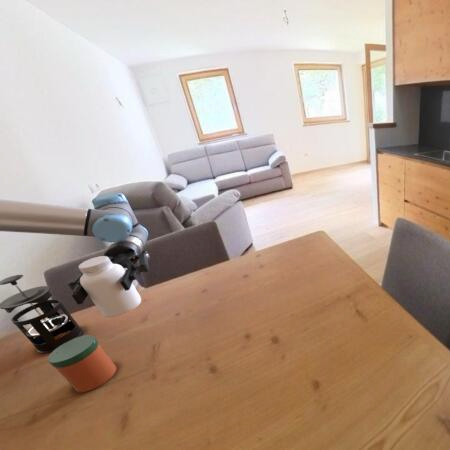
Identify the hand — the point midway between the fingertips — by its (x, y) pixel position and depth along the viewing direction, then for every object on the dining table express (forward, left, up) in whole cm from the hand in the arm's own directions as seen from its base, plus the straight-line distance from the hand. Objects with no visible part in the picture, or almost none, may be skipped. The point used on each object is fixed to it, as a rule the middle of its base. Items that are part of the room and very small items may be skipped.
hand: (101, 292), depth 67 cm
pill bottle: (-2, +4, -9) cm, 10 cm away
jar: (-7, -6, -22) cm, 24 cm away
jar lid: (-7, -6, -11) cm, 15 cm away
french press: (-29, +10, -22) cm, 38 cm away
